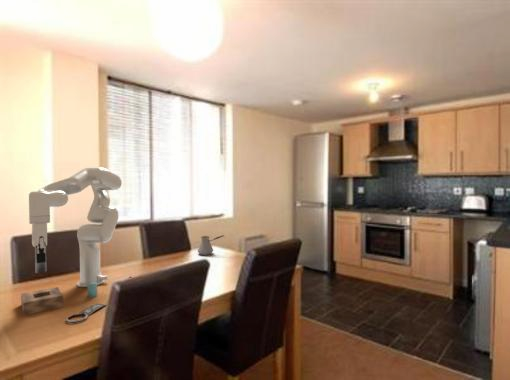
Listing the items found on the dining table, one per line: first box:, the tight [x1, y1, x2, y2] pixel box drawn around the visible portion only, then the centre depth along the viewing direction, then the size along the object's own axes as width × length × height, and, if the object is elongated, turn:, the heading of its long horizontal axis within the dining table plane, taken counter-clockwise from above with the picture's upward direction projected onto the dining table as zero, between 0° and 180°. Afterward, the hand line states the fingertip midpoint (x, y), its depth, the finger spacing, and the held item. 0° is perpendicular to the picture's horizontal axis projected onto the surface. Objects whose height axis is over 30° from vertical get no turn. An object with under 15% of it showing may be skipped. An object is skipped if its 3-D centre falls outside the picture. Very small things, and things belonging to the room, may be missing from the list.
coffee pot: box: [197, 234, 226, 256], centre depth 239 cm, size 21×12×15 cm, turn 71°
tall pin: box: [34, 245, 47, 274], centre depth 142 cm, size 4×4×13 cm
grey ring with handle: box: [65, 303, 107, 325], centre depth 135 cm, size 8×19×2 cm, turn 168°
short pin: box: [87, 282, 98, 298], centre depth 155 cm, size 4×4×6 cm
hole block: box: [20, 287, 64, 316], centre depth 143 cm, size 14×14×5 cm
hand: (40, 261), depth 142 cm, fingers closed on tall pin, 4 cm apart
